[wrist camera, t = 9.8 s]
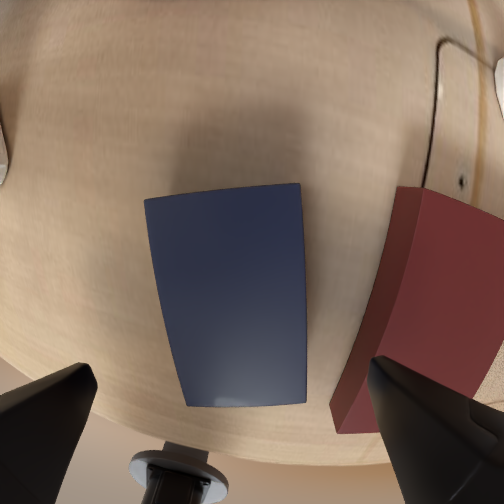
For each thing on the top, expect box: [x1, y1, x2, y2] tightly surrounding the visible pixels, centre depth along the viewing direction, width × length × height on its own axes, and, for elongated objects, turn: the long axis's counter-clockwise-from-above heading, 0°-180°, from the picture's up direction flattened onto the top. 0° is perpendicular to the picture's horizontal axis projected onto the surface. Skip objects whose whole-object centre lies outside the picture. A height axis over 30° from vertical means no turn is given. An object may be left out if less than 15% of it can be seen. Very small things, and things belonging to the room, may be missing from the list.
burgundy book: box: [329, 186, 504, 434], centre depth 14 cm, size 15×11×3 cm
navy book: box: [144, 183, 307, 407], centre depth 14 cm, size 11×7×4 cm, turn 5°
